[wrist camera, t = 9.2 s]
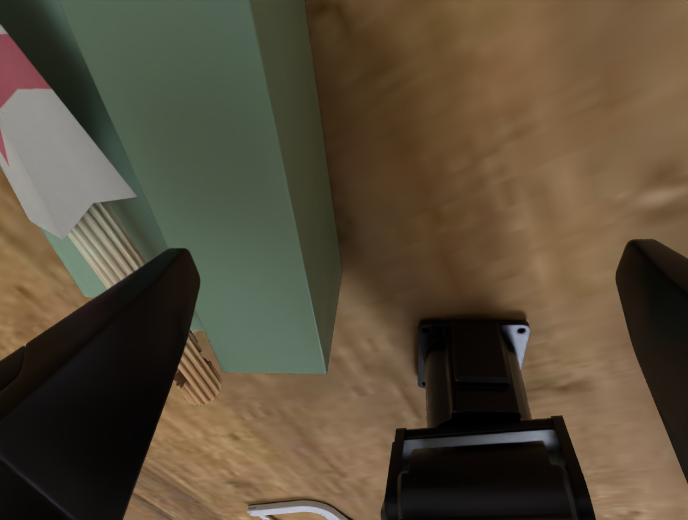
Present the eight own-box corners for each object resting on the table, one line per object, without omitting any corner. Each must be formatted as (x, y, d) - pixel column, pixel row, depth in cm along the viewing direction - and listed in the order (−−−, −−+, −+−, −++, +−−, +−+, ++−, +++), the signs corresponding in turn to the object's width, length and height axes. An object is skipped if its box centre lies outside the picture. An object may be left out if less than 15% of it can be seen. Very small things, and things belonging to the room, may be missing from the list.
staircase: (342, 272, 26) (327, 374, 21) (101, 274, 28) (32, 368, 23) (284, -147, 15) (217, -155, 9) (-114, -90, 17) (-350, -70, 12)
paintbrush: (-236, -164, 9) (203, 430, 20) (-80, -176, 10) (249, 385, 22) (-223, -106, 12) (161, 393, 23) (-98, -122, 13) (205, 356, 24)
